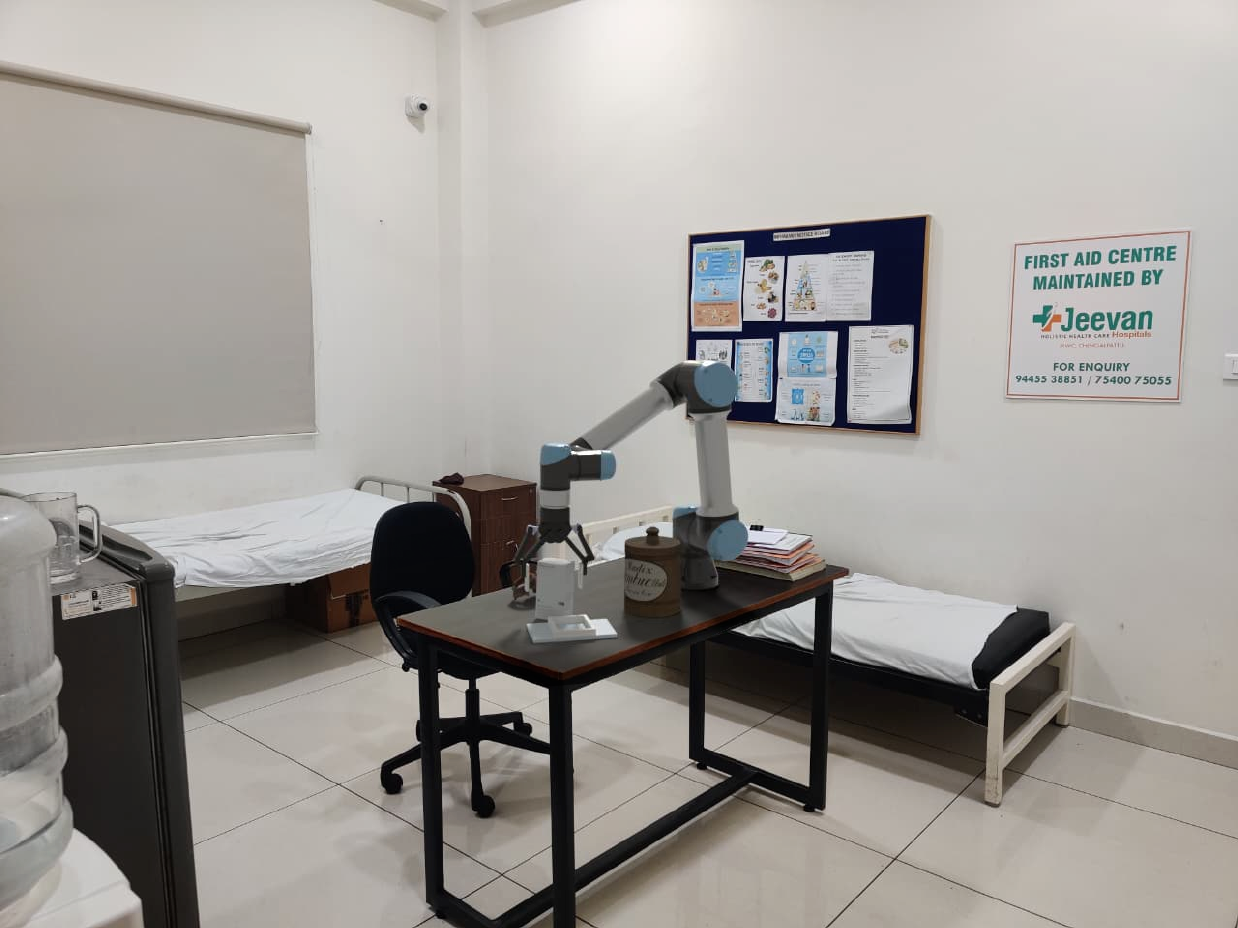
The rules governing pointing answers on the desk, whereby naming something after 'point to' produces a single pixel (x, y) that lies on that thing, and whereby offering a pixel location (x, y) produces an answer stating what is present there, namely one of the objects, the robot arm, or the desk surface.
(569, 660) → the desk surface
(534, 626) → the white box stand
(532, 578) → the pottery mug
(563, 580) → the skincare box
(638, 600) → the wooden container
